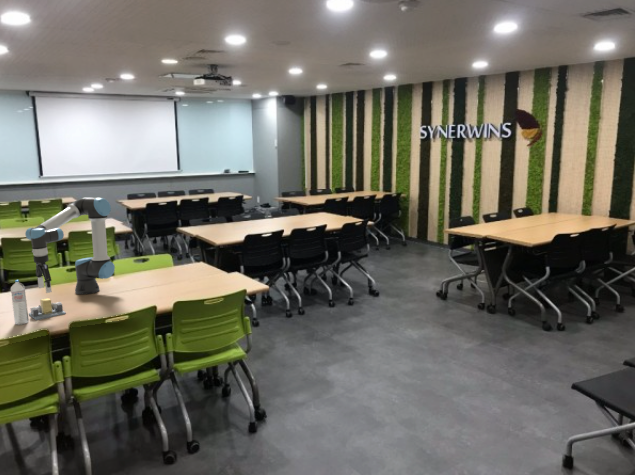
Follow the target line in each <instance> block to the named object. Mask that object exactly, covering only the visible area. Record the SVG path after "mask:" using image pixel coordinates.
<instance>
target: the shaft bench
mask: <svg viewBox="0 0 635 475" xmlns="http://www.w3.org/2000/svg"><path fill="white" fill-rule="evenodd" d="M51 306H52V313H49V314H43V313H42V308H41V304H40V305H38V306H35V307H34V306H33V307H30V309H29V310H30V312H28V316H30V317H31V318H32V319H33V320H35V321H40V320H44V319H45V320H46V319H49V318H53V316H54V317H57V315H58V316H62V315H65V314H67V313H66V311H64V307H63V303H62V302H61V301H58V302H51Z"/></svg>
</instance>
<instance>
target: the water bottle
mask: <svg viewBox="0 0 635 475" xmlns="http://www.w3.org/2000/svg"><path fill="white" fill-rule="evenodd" d="M14 282H15V283H13V284H12V286H10V291H11V301H12V302H11V303H12V311H13V319H14V324H15V325H17V326H22V325H25V324H28V323H29V311H28V303H27V296H26V286H25V285H24V284H23V283H21V282H20V279H16V280H15V279H14Z"/></svg>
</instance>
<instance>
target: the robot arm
mask: <svg viewBox="0 0 635 475" xmlns="http://www.w3.org/2000/svg"><path fill="white" fill-rule="evenodd" d="M111 210H112V207H111V204H110V201H109V200H107V199H106V198H105V197H82V198H78V199H77V200H75V201H72V202H71V203H70V204H68V205H67V206H66V208H65V209H63V210H61V211H59V212H58V213H57V214H54V215H53V216H51V217H50V218H48V219H47V220H45V221H44V222H42V223H41V224H39V225H37V226H35V227H29V228H27V229H26V230H25V233H24V234H25V238H26V239H27V240H29V241H31V248H32V250H31V253H32V255H33V262H34V263H35V275H36V277H37V285H38V289H43V288H45V293H46V294H49V293H52V285H51V284H52V283H51V282H52V277H51V274H50V273H51V272H50V269H49V264H46V263H47V262H48V261H49V255H48V254H49V252H48V244H49V243H54V242H58V241H61V240H63V239H64V235H65V234H64V231H63V230H62V228H61V227H62V226H63V225H65V224H67V223H69V222H70V221H71V220H73V219H76V218H79V217H82V216H85V215H86V216H87V218H88V220H89V221H90V225H91V238H92V250H93V251H92V254H93V256H91V257H85V258H84V257H83V258H80V259H76V261H75V263H74V264H75V266H74V268H75V275H76V285H75V287H74V292H75V294H77V295H90V294H95V293H98V292H99V291H100V285H99V284H98V281H97V279H100V280H101V279H102V280H103V279H104V280H106V279H109V278H111V277H113V275H114V272H115V268H116V267H115V264H114V263H113V262H112V261H111V257H110V256H109V255H108V244H107V243H108V242H107V228H106V220H107V219H108V215H110V214H111Z"/></svg>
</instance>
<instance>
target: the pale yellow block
mask: <svg viewBox="0 0 635 475" xmlns="http://www.w3.org/2000/svg"><path fill="white" fill-rule="evenodd" d="M39 302H40V306H41V308H42V313H43V314H49V313H52V306H51V303H52V300H51V299H50V298H49V297H48V298H42V299H40V300H39Z"/></svg>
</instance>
